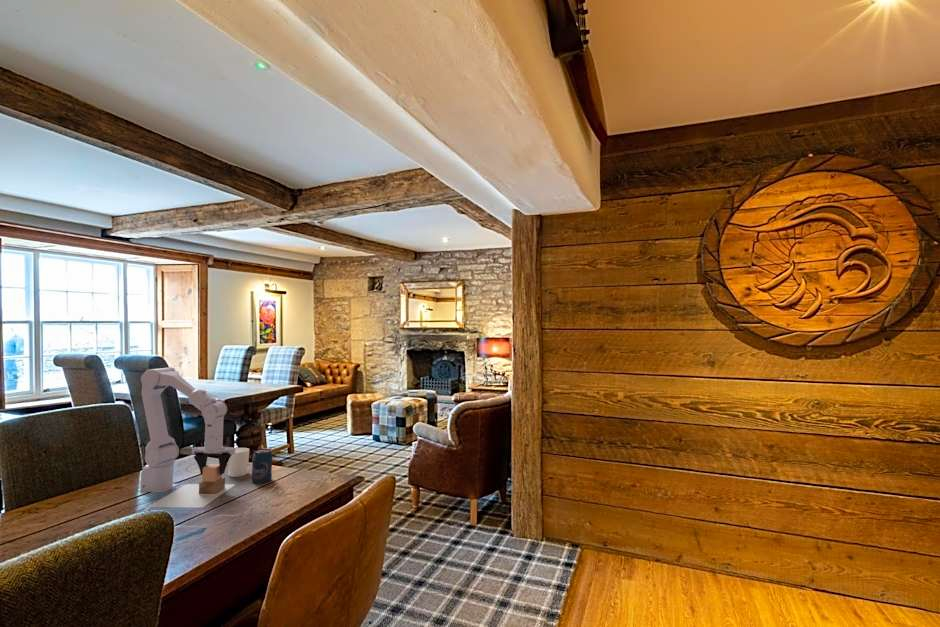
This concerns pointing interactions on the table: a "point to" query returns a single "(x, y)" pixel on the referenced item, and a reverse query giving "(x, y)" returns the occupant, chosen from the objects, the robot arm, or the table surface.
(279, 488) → the table surface
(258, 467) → the soda can
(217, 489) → the base block
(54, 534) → the table surface
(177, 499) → the white flat board
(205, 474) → the top block
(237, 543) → the table surface
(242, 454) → the white cup
